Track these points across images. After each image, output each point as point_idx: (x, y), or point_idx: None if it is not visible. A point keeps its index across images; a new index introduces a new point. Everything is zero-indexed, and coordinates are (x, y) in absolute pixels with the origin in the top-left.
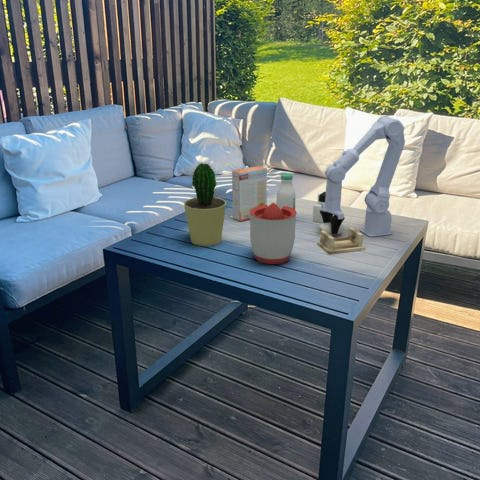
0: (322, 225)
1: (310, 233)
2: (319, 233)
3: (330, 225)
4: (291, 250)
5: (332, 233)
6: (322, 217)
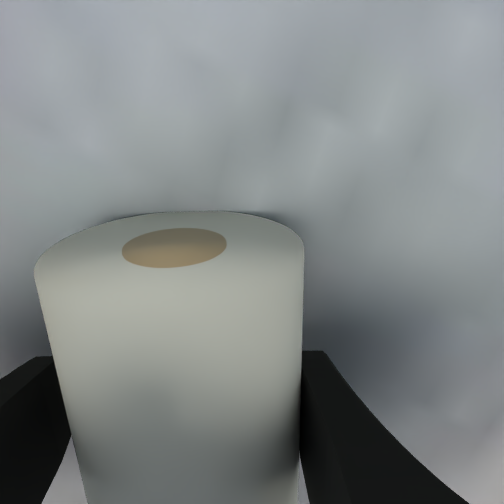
0: (84, 301)
1: (341, 95)
2: (234, 217)
3: (90, 452)
4: None
5: (25, 364)
6: (414, 489)
